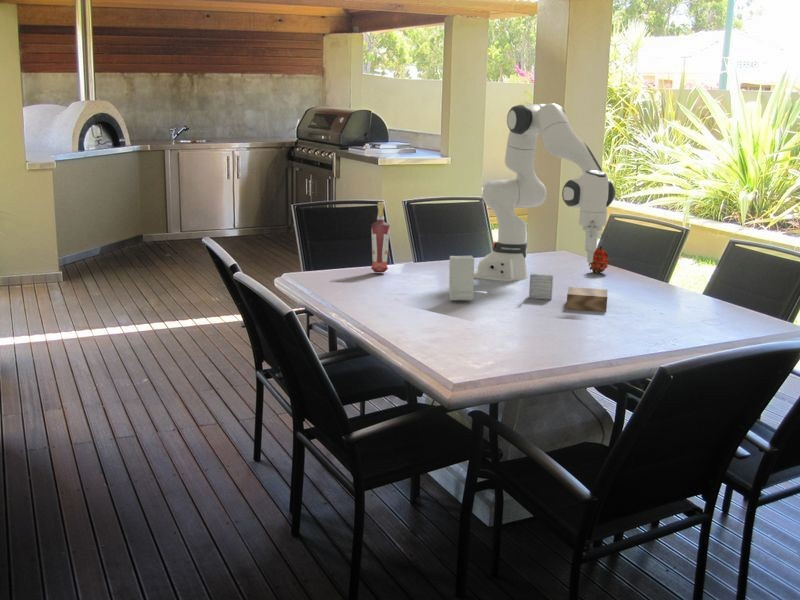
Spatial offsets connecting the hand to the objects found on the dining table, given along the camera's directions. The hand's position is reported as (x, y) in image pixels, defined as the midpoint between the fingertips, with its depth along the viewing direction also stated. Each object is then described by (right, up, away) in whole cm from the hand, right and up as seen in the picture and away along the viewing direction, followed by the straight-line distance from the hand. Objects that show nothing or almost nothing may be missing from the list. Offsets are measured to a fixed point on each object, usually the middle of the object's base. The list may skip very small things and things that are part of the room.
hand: (590, 261), depth 283 cm
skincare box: (-43, -13, +11) cm, 46 cm away
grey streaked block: (-14, -13, +15) cm, 24 cm away
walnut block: (0, -15, +3) cm, 16 cm away
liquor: (-72, -2, +59) cm, 93 cm away
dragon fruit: (+18, -3, +65) cm, 67 cm away
